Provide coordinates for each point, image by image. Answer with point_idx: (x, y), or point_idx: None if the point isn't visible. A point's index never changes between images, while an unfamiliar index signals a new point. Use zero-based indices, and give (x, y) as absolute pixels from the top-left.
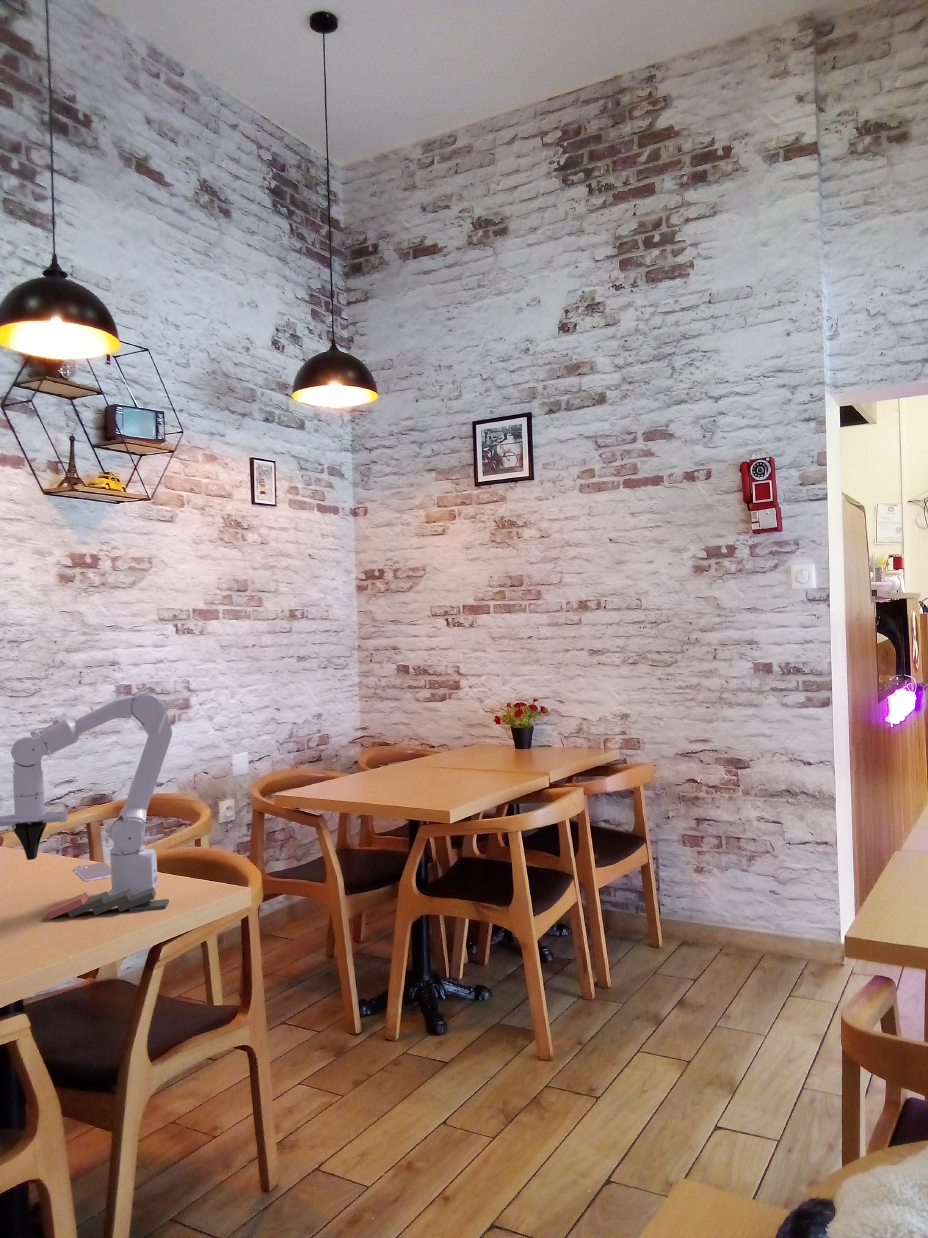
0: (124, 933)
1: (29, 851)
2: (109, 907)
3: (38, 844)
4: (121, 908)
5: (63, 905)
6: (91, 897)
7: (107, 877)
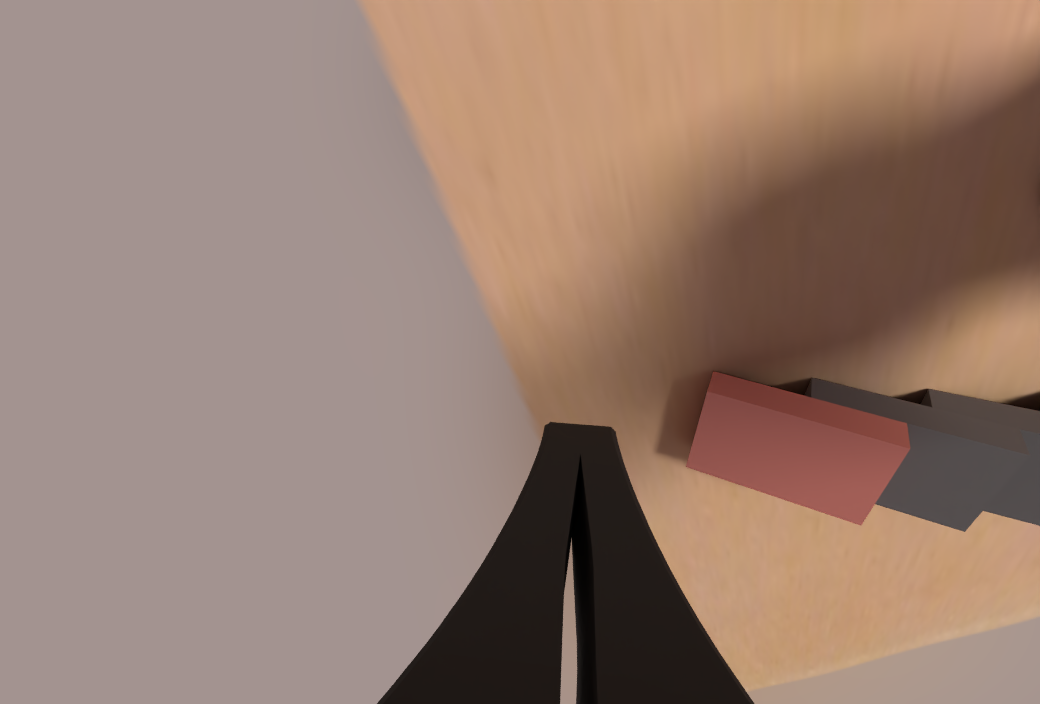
0: (943, 623)
1: (567, 566)
2: None
3: (646, 539)
4: None
5: (768, 486)
6: (923, 429)
7: None
